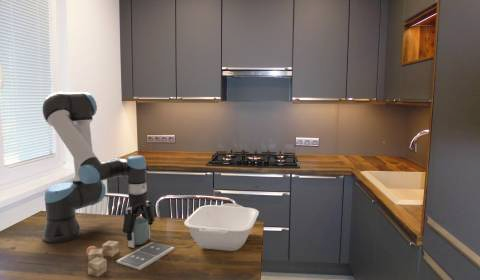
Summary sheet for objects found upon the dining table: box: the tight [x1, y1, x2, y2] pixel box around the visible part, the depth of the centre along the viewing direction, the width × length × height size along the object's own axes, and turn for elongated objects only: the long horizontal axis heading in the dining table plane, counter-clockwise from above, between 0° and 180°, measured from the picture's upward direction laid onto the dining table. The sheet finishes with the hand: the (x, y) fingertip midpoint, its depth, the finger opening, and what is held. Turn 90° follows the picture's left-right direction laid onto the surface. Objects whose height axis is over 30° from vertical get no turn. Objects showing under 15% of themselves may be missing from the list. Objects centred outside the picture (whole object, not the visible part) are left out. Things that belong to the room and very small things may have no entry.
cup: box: [129, 217, 149, 246], centre depth 154 cm, size 8×8×10 cm
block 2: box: [87, 257, 108, 277], centre depth 129 cm, size 4×4×4 cm
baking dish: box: [183, 203, 260, 252], centre depth 154 cm, size 34×28×13 cm
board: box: [116, 241, 175, 271], centre depth 143 cm, size 12×20×1 cm, turn 152°
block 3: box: [101, 240, 120, 258], centre depth 144 cm, size 4×4×4 cm
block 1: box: [87, 248, 104, 262], centre depth 137 cm, size 4×4×4 cm
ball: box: [86, 245, 98, 256], centre depth 142 cm, size 4×4×4 cm
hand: (139, 242), depth 154 cm, fingers open, 9 cm apart
